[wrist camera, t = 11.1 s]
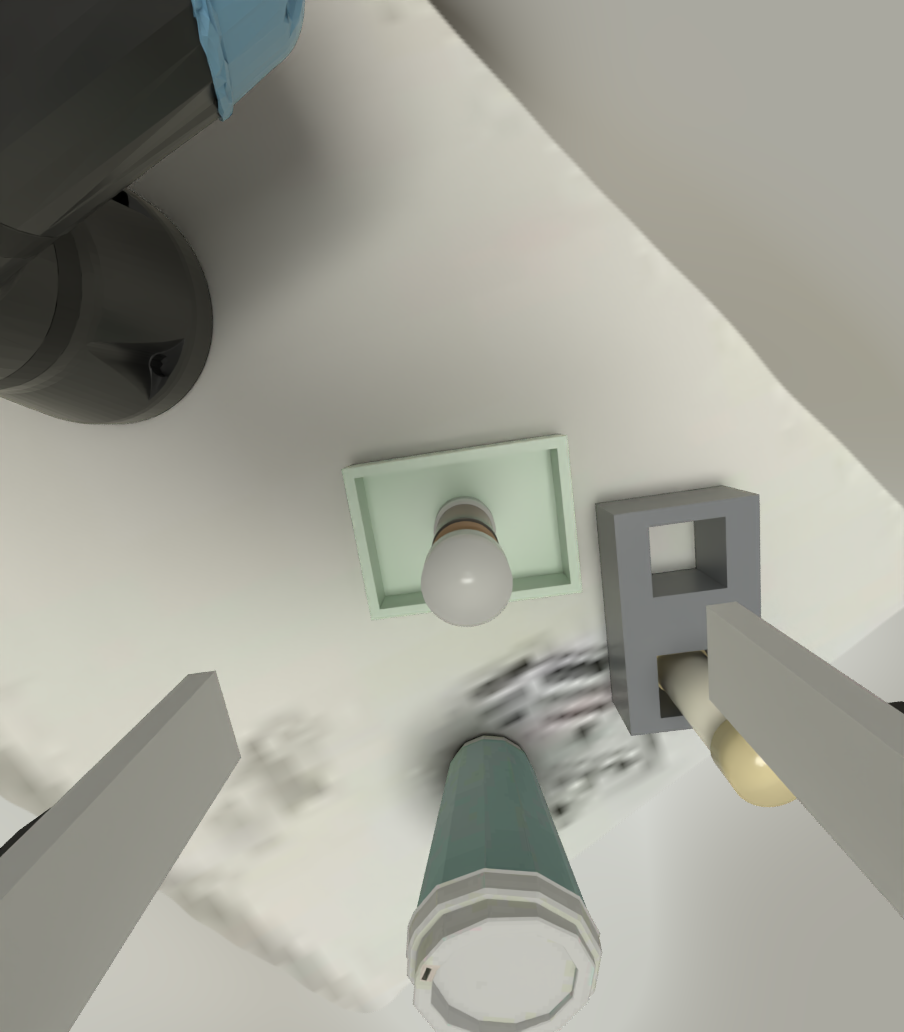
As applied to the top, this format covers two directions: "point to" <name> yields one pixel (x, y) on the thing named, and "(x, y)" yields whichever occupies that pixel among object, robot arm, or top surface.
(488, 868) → the disposable coffee cup
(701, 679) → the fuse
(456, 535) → the cylinder
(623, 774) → the top surface
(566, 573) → the parts tray
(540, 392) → the top surface
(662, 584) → the grey rectangular block
